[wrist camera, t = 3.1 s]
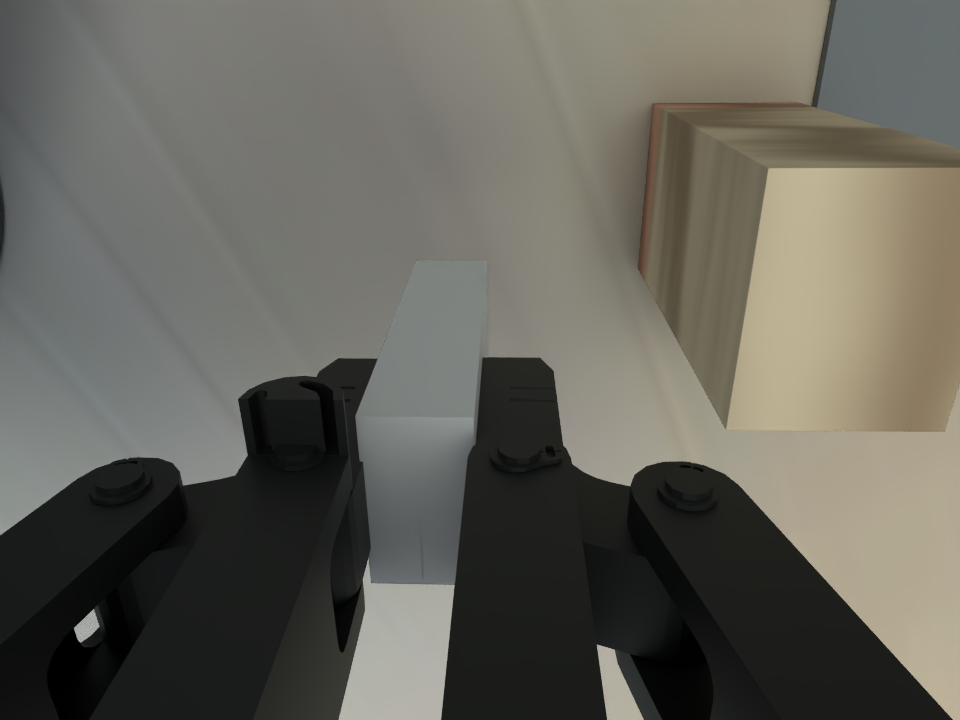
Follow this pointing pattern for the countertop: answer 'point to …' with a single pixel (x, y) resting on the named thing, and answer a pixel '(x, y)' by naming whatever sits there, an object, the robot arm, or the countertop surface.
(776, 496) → the countertop surface
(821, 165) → the oak block
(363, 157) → the countertop surface
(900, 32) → the mat
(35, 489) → the countertop surface
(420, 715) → the countertop surface
